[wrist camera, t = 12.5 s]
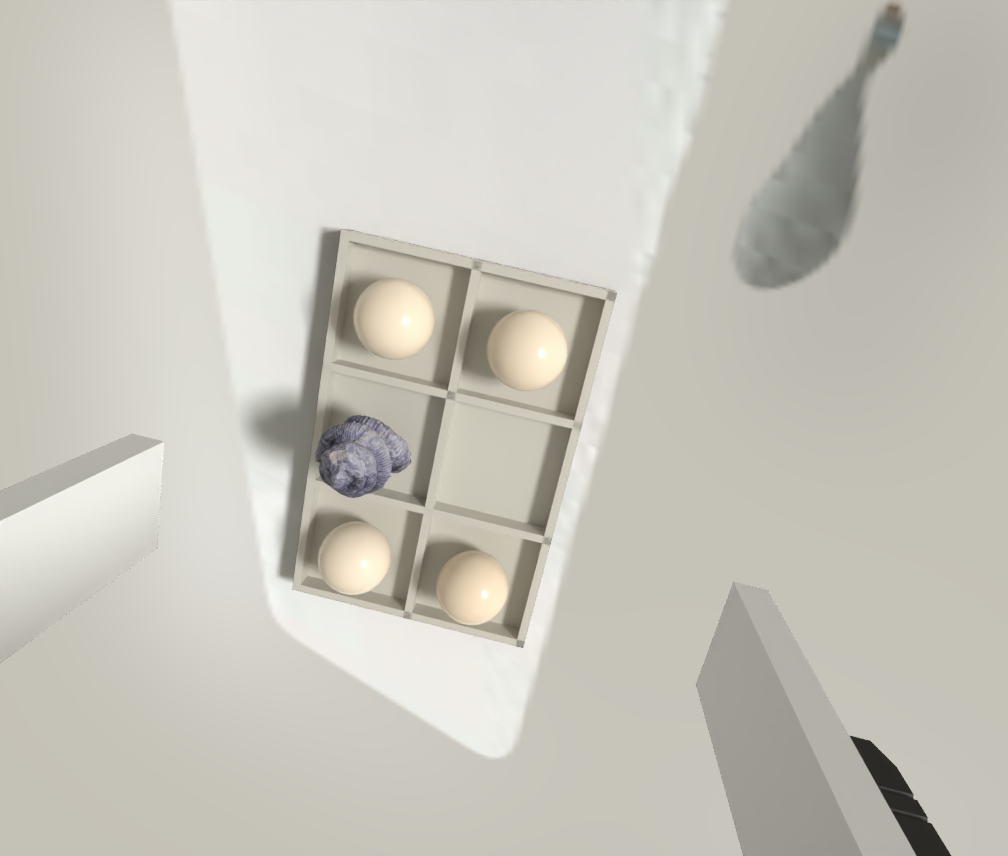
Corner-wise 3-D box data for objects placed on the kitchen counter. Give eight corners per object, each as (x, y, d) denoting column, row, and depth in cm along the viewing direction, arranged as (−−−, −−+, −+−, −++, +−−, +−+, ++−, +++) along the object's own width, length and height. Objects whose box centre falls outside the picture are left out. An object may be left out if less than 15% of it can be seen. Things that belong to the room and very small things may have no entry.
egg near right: (500, 297, 45) (491, 304, 39) (576, 315, 44) (577, 324, 39) (484, 372, 46) (473, 388, 41) (558, 389, 46) (556, 408, 41)
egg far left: (338, 502, 50) (310, 532, 45) (404, 519, 50) (385, 551, 45) (328, 563, 52) (301, 598, 47) (393, 579, 52) (373, 617, 46)
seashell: (347, 461, 49) (292, 514, 40) (353, 393, 48) (298, 431, 38) (415, 474, 49) (377, 530, 39) (424, 406, 47) (386, 447, 38)
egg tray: (350, 229, 45) (341, 229, 43) (615, 290, 44) (616, 292, 42) (302, 577, 53) (292, 589, 51) (524, 633, 52) (523, 647, 50)
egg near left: (373, 268, 45) (347, 271, 40) (448, 285, 45) (432, 291, 40) (362, 343, 47) (335, 355, 41) (434, 360, 46) (417, 375, 41)
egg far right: (451, 530, 50) (436, 564, 45) (519, 547, 50) (512, 582, 45) (438, 590, 51) (423, 629, 46) (504, 607, 51) (496, 648, 46)
